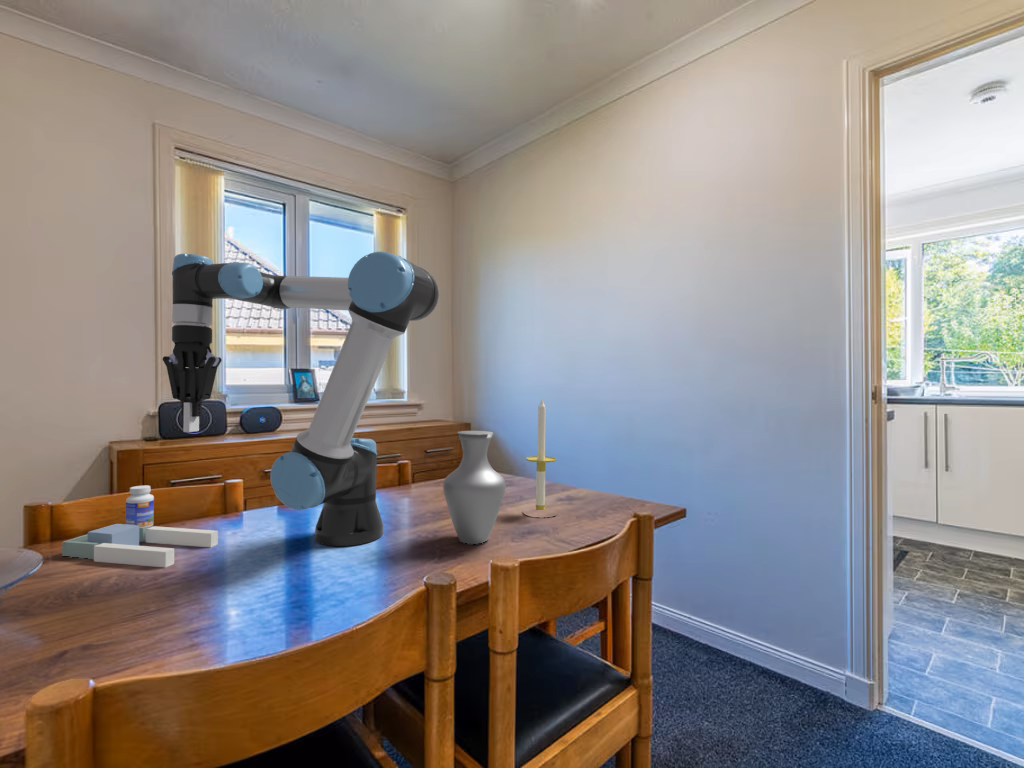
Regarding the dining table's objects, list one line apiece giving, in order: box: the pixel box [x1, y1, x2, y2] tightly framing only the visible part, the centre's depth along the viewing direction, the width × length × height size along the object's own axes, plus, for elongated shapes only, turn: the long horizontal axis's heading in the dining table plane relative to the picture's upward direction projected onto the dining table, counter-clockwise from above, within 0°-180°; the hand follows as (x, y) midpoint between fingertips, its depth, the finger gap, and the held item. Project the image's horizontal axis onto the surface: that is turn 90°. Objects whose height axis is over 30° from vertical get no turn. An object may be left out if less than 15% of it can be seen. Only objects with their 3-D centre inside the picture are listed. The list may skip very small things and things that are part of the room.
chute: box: [93, 525, 219, 569], centre depth 102 cm, size 16×14×3 cm
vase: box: [442, 430, 507, 545], centre depth 113 cm, size 14×14×25 cm
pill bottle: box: [125, 484, 155, 529], centre depth 119 cm, size 5×5×10 cm
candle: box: [525, 398, 557, 510], centre depth 137 cm, size 10×10×32 cm
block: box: [87, 523, 140, 546], centre depth 103 cm, size 6×6×4 cm
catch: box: [61, 527, 147, 560], centre depth 104 cm, size 8×12×3 cm, turn 171°
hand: (191, 431), depth 110 cm, fingers closed
